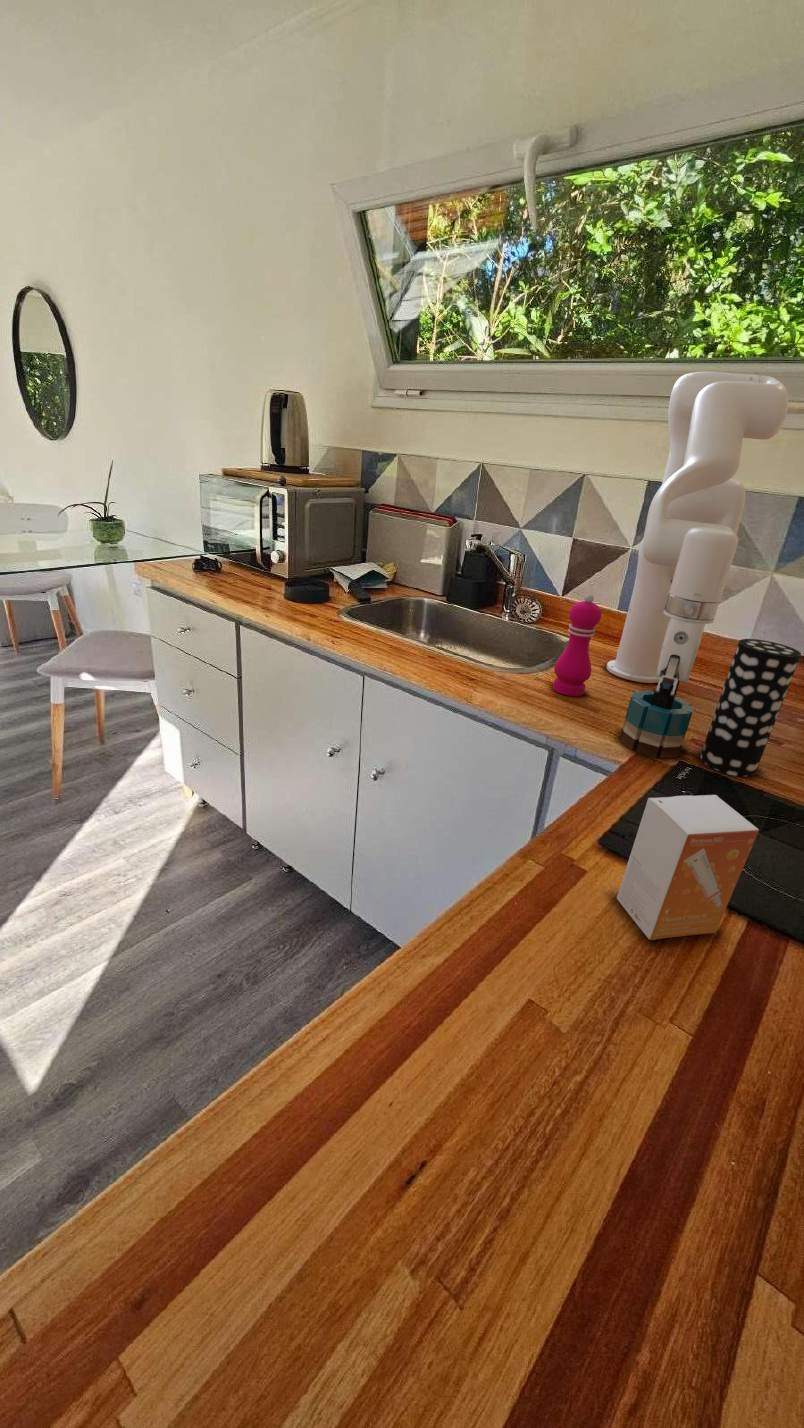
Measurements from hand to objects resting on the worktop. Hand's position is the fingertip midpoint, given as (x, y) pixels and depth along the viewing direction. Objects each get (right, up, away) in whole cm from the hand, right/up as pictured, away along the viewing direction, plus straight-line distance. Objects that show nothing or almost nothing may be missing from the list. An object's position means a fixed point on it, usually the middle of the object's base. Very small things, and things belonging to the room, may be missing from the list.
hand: (661, 707), depth 102 cm
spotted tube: (+9, -9, -5) cm, 14 cm away
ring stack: (-2, -6, -1) cm, 7 cm away
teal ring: (-2, -3, -2) cm, 4 cm away
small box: (-17, -23, -40) cm, 49 cm away
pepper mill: (-11, +3, +20) cm, 22 cm away
